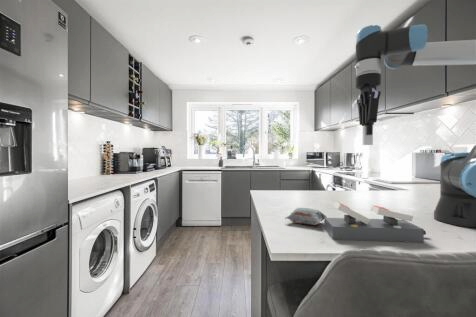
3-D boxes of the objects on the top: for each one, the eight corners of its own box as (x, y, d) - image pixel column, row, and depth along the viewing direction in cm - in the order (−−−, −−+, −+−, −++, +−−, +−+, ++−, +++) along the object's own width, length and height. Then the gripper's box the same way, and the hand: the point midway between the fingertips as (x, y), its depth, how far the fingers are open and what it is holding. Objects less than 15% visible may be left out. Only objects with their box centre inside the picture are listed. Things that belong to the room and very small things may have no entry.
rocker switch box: (414, 231, 70) (414, 214, 70) (436, 242, 61) (436, 223, 61) (324, 228, 73) (324, 212, 73) (332, 239, 64) (332, 220, 64)
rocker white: (402, 217, 69) (403, 211, 68) (411, 221, 64) (413, 215, 64) (370, 210, 70) (371, 204, 69) (377, 214, 65) (378, 208, 65)
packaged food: (320, 230, 73) (320, 214, 73) (284, 223, 79) (284, 209, 79) (327, 223, 80) (327, 209, 80) (293, 218, 87) (293, 204, 87)
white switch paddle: (361, 220, 70) (364, 214, 70) (367, 224, 66) (370, 219, 65) (333, 205, 71) (336, 200, 71) (337, 209, 66) (340, 203, 66)
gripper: (349, 81, 87) (349, 145, 87) (364, 69, 74) (363, 144, 74) (371, 80, 86) (370, 145, 86) (389, 67, 73) (389, 143, 73)
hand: (367, 144), depth 80 cm, fingers closed
